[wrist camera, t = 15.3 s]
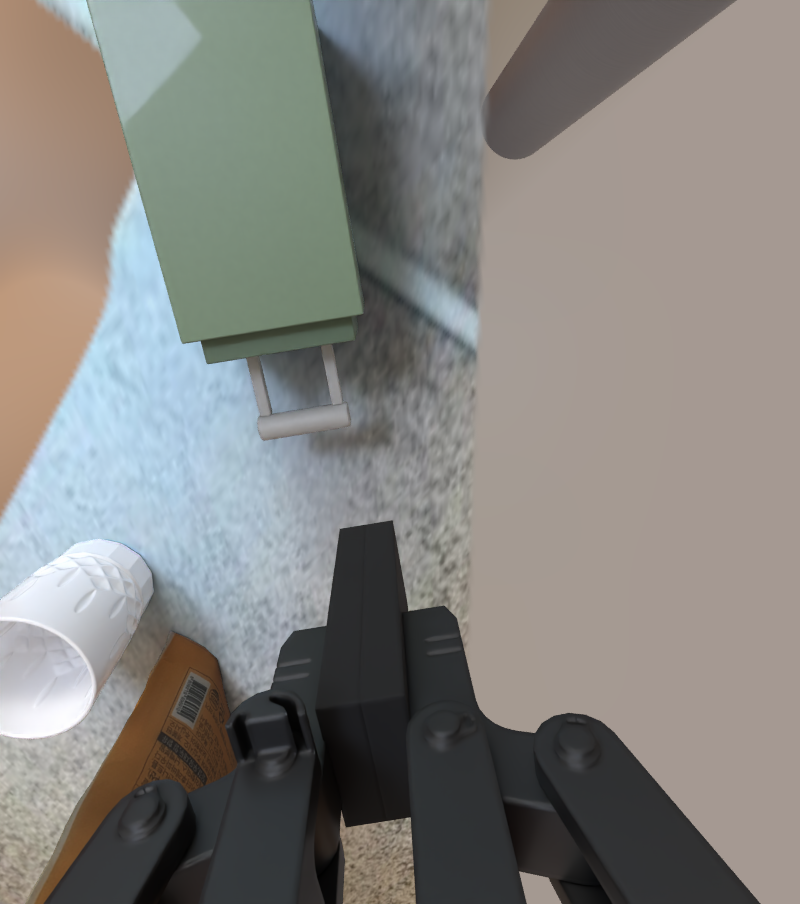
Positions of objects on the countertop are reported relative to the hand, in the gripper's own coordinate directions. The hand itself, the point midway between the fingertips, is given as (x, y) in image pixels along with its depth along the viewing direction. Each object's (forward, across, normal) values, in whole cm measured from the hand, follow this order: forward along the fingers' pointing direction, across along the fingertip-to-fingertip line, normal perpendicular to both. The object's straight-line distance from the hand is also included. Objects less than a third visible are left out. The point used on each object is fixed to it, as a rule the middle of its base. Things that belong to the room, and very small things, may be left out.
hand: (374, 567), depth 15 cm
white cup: (+21, -21, -10) cm, 31 cm away
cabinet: (+21, -4, +13) cm, 25 cm away
